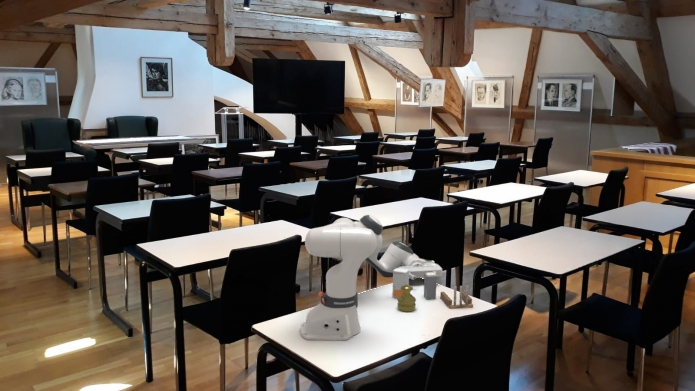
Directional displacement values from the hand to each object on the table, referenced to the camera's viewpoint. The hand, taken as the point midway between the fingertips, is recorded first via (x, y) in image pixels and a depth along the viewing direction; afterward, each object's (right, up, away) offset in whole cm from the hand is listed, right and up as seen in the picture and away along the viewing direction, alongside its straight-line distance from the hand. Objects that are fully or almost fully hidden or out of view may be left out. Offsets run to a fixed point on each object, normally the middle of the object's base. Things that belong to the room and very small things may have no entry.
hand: (424, 277), depth 250 cm
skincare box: (-11, -7, -8) cm, 15 cm away
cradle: (+11, -8, -14) cm, 20 cm away
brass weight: (-10, -10, -20) cm, 25 cm away
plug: (+1, -7, -9) cm, 11 cm away
